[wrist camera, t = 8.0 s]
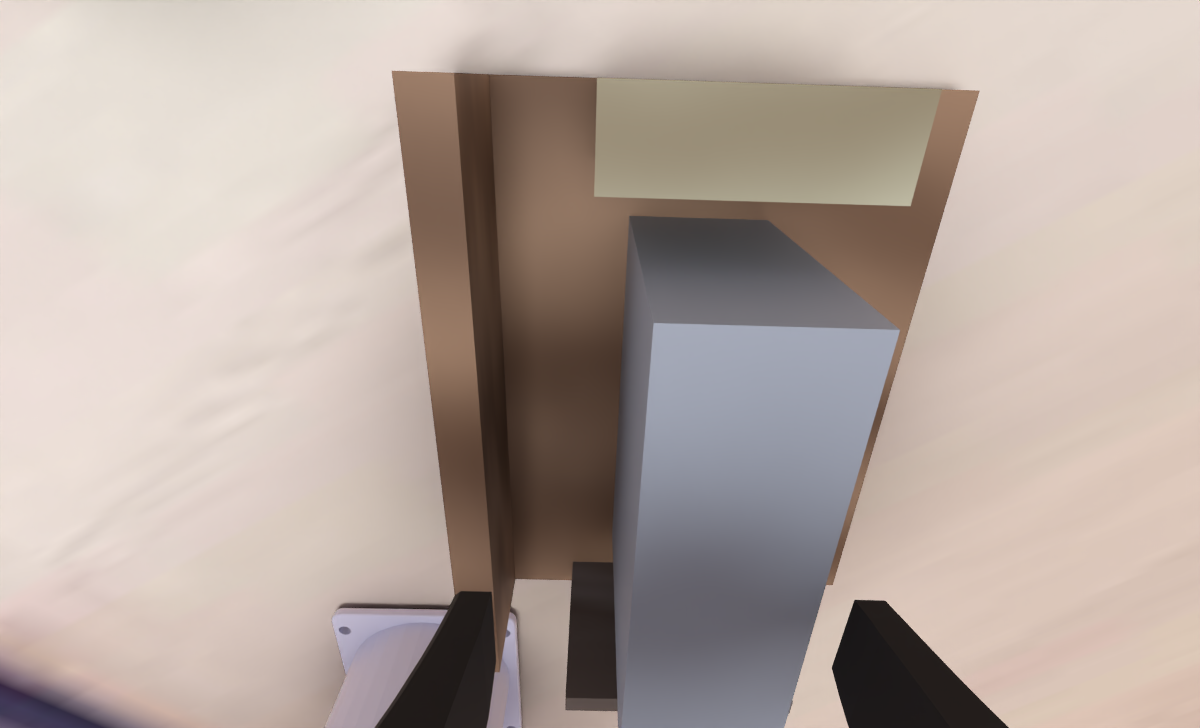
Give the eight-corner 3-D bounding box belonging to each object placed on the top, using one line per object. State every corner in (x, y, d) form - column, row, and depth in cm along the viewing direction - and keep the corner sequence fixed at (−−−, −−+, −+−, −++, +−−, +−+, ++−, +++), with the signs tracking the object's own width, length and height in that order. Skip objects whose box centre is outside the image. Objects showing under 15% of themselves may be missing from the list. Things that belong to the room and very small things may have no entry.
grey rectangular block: (767, 220, 16) (900, 330, 9) (716, 535, 22) (774, 759, 15) (629, 215, 16) (653, 322, 9) (612, 533, 22) (619, 757, 14)
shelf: (822, 562, 24) (896, 723, 18) (490, 555, 24) (453, 716, 18) (953, 90, 16) (1167, 96, 10) (452, 73, 16) (363, 69, 10)
